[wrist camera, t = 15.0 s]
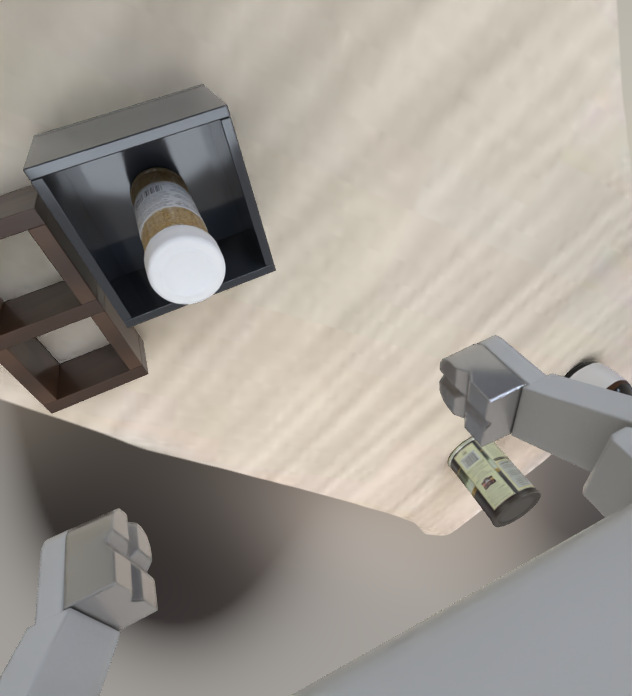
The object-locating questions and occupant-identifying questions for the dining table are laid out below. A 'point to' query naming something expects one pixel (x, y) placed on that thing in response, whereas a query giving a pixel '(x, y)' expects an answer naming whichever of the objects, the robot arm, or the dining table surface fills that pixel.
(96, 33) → the dining table surface
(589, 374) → the spread jar
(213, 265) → the spice jar
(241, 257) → the dark grey open box
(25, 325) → the rack
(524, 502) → the coffee can
